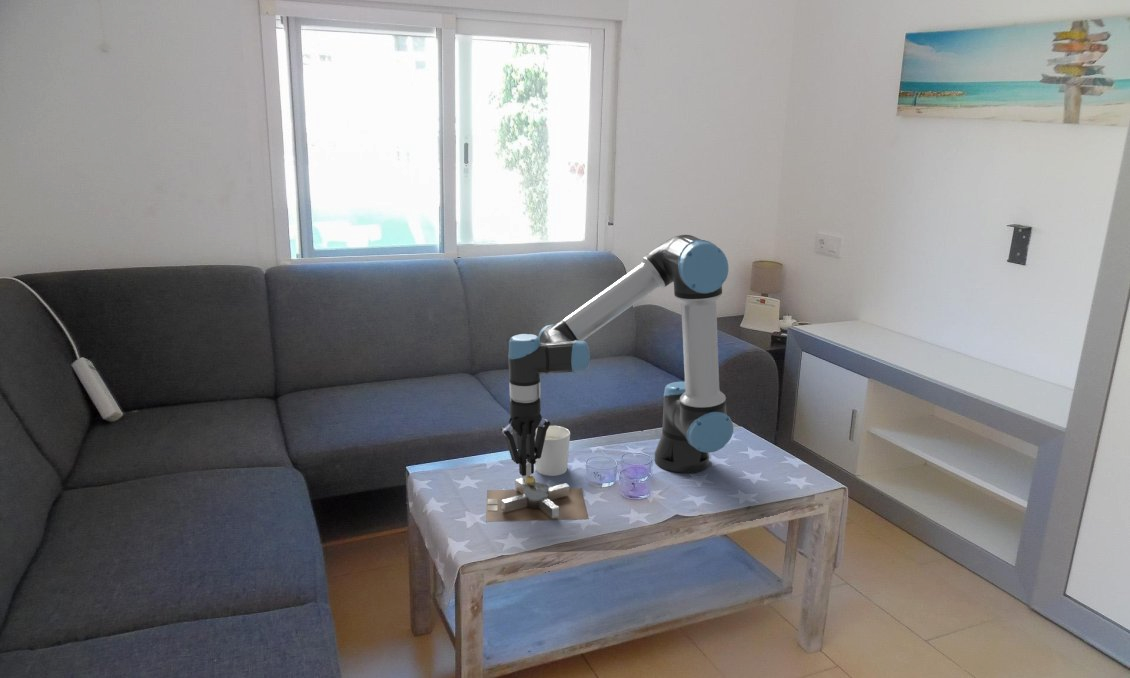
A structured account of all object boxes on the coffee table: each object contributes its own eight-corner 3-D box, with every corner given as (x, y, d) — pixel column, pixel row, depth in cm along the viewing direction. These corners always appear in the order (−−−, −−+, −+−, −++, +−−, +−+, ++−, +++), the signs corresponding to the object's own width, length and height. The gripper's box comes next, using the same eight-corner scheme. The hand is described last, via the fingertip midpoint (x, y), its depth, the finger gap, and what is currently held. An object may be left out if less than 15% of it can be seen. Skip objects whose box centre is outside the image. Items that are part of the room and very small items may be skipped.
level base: (581, 493, 198) (581, 487, 198) (588, 524, 183) (588, 518, 182) (487, 495, 196) (487, 489, 196) (486, 527, 181) (486, 520, 180)
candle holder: (565, 483, 204) (566, 441, 200) (529, 479, 205) (529, 437, 202) (572, 468, 213) (573, 427, 210) (537, 464, 215) (538, 424, 212)
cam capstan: (549, 480, 201) (549, 457, 199) (587, 509, 186) (588, 484, 185) (486, 496, 192) (486, 472, 190) (521, 528, 177) (521, 502, 175)
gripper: (540, 388, 195) (541, 474, 202) (494, 397, 189) (497, 485, 195) (555, 397, 189) (556, 485, 195) (508, 407, 183) (511, 498, 189)
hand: (526, 485), depth 195 cm, fingers closed
